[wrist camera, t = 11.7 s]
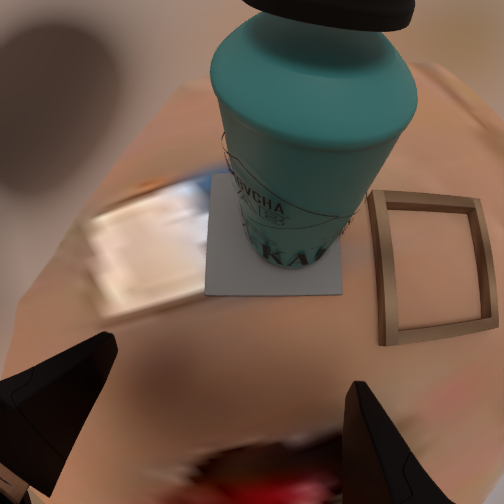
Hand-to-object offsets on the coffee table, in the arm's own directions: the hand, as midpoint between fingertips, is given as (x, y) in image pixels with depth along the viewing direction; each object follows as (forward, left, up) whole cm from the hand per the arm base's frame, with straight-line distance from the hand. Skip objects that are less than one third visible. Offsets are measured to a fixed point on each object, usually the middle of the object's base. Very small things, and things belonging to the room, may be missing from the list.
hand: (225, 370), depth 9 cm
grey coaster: (+9, -2, -11) cm, 14 cm away
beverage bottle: (+9, -3, -11) cm, 14 cm away
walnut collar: (+6, -16, -11) cm, 20 cm away
